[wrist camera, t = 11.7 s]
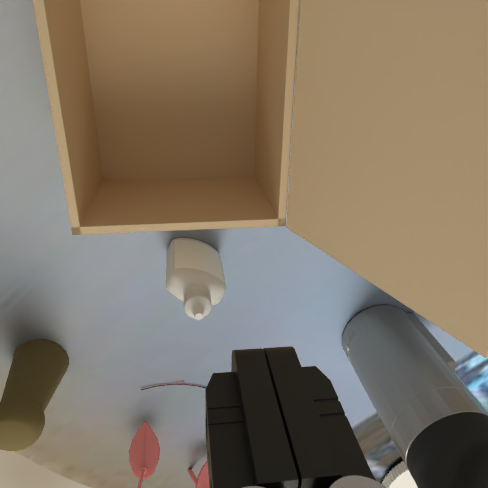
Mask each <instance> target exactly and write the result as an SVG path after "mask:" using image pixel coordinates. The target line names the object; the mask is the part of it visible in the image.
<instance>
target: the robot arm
mask: <svg viewBox="0 0 488 488" xmlns="http://www.w3.org/2000/svg"><path fill="white" fill-rule="evenodd" d="M342 345H343V349H344V351H345V353H346V355H347V357H348V359H349V361H350V362H351V364H352V366H353V368H354V370H355V372H356V374H357V376H358V377H359V379H360V381H361V383H362V385H363V387H364V389H365V390H366V392H367V394H368V396H369V398H370V400H371V402H372V403H373V405H374V407H375V409H376V411H377V413H378V415H379V416H380V418H381V420H382V422H383V424H384V426H385V428H386V429H387V431H388V433H389V435H390V437H391V439H392V441H393V442H394V444H395V446H396V448H397V450H398V452H399V453H400V455H401V457H402V459H403V461H404V463H405V465H406V466H407V468H408V470H409V472H410V474H411V476H412V477H413V479H414V481H415V483H416V485H417V487H418V488H488V412H487V410H486V409H485V408H484V407H483V406H482V404H481V403H480V402H479V401H478V400H477V398H476V397H475V396H474V395H473V394H472V393H471V391H470V390H469V389H468V388H467V387H466V385H465V384H464V383H463V382H462V381H461V379H460V378H459V377H458V376H457V375H456V373H455V372H454V371H455V368H456V363H455V361H454V359H453V358H452V357H451V356H450V355H449V354H448V353H447V351H446V350H445V349H444V348H443V347H442V346H441V344H440V343H439V342H438V341H437V340H436V339H435V337H434V336H433V335H432V334H431V333H430V332H429V331H428V329H427V328H426V327H425V326H424V325H423V324H422V322H421V321H420V320H419V319H418V318H417V317H416V315H415V314H414V313H406V312H404V311H402V310H401V309H399V308H397V307H395V306H390V305H378V306H374V307H370V308H368V309H366V310H364V311H362V312H360V313H359V314H357V315H356V316H355V317H354V318H353V319H352V320H351V321H350V322H349V324H348V325H347V326H346V328H345V330H344V333H343V337H342ZM206 446H207V461H208V474H209V488H386V487H385V486H384V485H382V484H381V483H379V482H377V481H376V480H375V478H374V476H373V474H372V473H371V470H370V468H369V466H368V464H367V461H366V459H365V457H364V455H363V453H362V450H361V448H360V446H359V444H358V441H357V439H356V437H355V435H354V432H353V430H352V428H351V426H350V423H349V421H348V419H347V417H346V416H345V412H344V410H343V408H342V406H341V403H340V401H338V397H337V394H336V392H335V390H334V388H333V385H332V383H331V381H330V380H329V379H328V378H327V377H326V376H325V375H324V374H323V373H322V372H321V371H320V370H319V369H318V368H317V367H316V366H312V367H301V365H300V362H299V360H298V357H297V354H296V352H295V349H294V348H293V347H276V348H264V349H246V350H233V351H232V371H231V372H225V373H213V375H212V377H211V379H210V381H209V383H208V386H207V388H206Z"/></svg>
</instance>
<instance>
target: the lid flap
mask: <svg viewBox="0 0 488 488" xmlns="http://www.w3.org/2000/svg"><path fill="white" fill-rule="evenodd" d="M286 228H288V229H290V230H291V231H293V232H294V233H296V234H297V235H299V236H300V237H302V238H303V239H305V240H306V241H308V242H309V243H311V244H312V245H314V246H315V247H317V248H319V249H320V250H322V251H323V252H325V253H326V254H328V255H329V256H331V257H332V258H334V259H335V260H337V261H338V262H340V263H341V264H343V265H344V266H346V267H348V268H349V269H351V270H352V271H354V272H355V273H357V274H358V275H360V276H361V277H363V278H364V279H366V280H367V281H369V282H370V283H372V284H374V285H375V286H377V287H378V288H380V289H381V290H383V291H384V292H386V293H387V294H389V295H390V296H392V297H393V298H395V299H396V300H398V301H399V302H401V303H403V304H404V305H406V306H407V307H409V308H410V309H412V310H413V311H415V312H416V313H418V314H419V315H421V316H422V317H424V318H425V319H427V320H428V321H430V322H432V323H433V324H435V325H436V326H438V327H439V328H441V329H442V330H444V331H445V332H447V333H448V334H450V335H451V336H453V337H454V338H456V339H458V340H459V341H461V342H462V343H464V344H465V345H467V346H468V347H470V348H471V349H473V350H474V351H476V352H477V353H479V354H480V355H482V356H483V357H485V358H486V357H488V0H301V4H300V19H299V35H298V51H297V67H296V82H295V98H294V114H293V130H292V145H291V161H290V177H289V193H288V208H287V224H286Z"/></svg>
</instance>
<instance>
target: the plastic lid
mask: <svg viewBox="0 0 488 488" xmlns="http://www.w3.org/2000/svg"><path fill="white" fill-rule="evenodd" d="M383 480H384V481H382V485H384V486H385V487H386V488H418V487H417V485H416V483H415V481H414V479H413V477H412V476H411V474H410V472H409V470H408V468H407V466H406V465H405V463H404V461H402V462H401V463H400V464H398V465H397V466H395V468H392V470H391V471H389V473H388V474H387V476H385V479H383Z"/></svg>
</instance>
